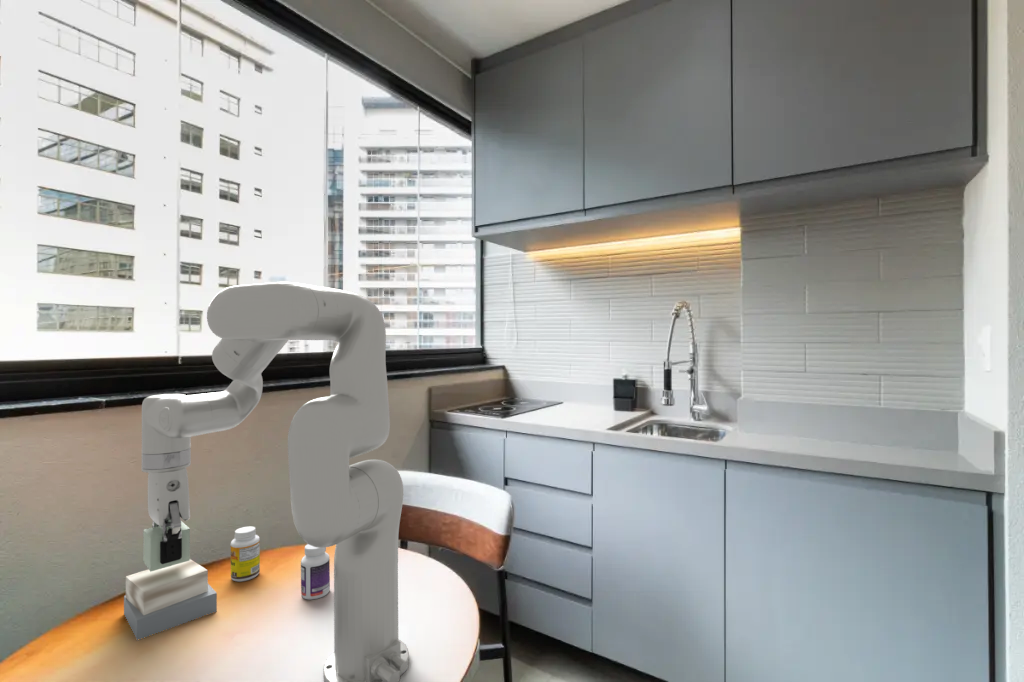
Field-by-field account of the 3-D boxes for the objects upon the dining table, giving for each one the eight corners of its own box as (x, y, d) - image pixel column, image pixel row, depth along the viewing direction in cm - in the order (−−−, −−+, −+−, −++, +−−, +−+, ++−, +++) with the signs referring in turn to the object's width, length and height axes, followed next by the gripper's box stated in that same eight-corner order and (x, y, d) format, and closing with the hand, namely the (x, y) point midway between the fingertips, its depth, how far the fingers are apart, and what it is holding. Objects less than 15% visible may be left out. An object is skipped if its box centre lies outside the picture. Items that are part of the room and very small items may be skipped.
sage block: (189, 560, 90) (189, 528, 90) (150, 571, 85) (150, 538, 85) (181, 551, 94) (181, 520, 94) (143, 561, 89) (143, 529, 89)
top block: (207, 591, 91) (207, 570, 91) (143, 615, 83) (143, 592, 83) (187, 576, 97) (187, 557, 97) (125, 598, 88) (125, 576, 89)
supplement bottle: (231, 574, 105) (231, 527, 105) (259, 568, 107) (259, 523, 108) (229, 585, 100) (229, 536, 100) (259, 578, 103) (259, 531, 103)
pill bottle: (334, 587, 99) (334, 540, 99) (321, 601, 93) (321, 551, 93) (309, 586, 99) (309, 539, 99) (295, 599, 94) (295, 550, 94)
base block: (216, 614, 90) (216, 592, 90) (137, 643, 81) (137, 619, 81) (198, 592, 98) (198, 573, 98) (123, 617, 89) (123, 595, 89)
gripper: (203, 463, 87) (203, 562, 86) (178, 450, 98) (178, 537, 98) (152, 471, 81) (152, 577, 81) (132, 456, 93) (132, 549, 93)
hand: (166, 555), depth 89 cm, fingers closed on sage block, 6 cm apart
